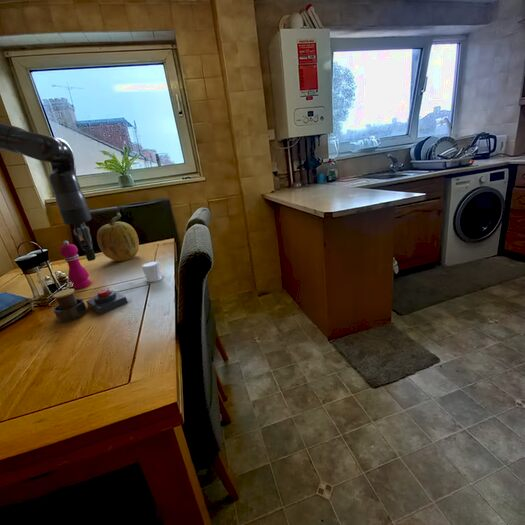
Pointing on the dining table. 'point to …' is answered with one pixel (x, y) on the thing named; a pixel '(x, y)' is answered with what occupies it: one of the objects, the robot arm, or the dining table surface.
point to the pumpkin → (118, 240)
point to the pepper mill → (74, 266)
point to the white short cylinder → (152, 271)
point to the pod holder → (70, 312)
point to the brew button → (103, 293)
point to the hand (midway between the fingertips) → (92, 259)
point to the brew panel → (106, 302)
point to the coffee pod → (66, 299)
